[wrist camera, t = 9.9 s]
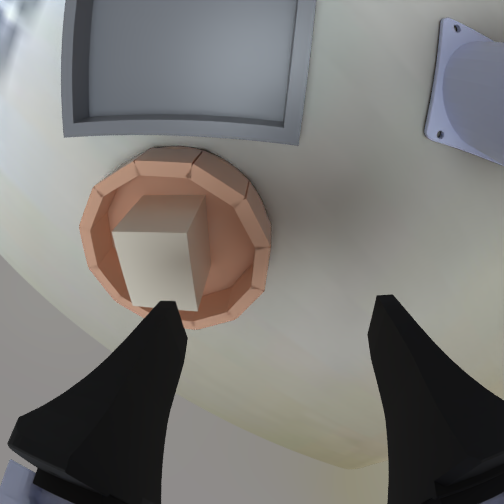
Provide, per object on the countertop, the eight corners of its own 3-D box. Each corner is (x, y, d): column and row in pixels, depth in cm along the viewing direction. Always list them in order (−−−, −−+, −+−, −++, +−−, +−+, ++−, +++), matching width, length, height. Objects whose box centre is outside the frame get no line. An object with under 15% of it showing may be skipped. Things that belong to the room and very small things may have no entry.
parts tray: (316, -56, 10) (322, -71, 8) (295, 135, 16) (298, 145, 14) (94, -42, 10) (74, -51, 8) (84, 127, 16) (63, 137, 14)
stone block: (205, 194, 18) (186, 232, 14) (211, 264, 21) (197, 311, 17) (143, 195, 18) (111, 231, 14) (155, 261, 21) (132, 305, 17)
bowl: (280, 154, 17) (281, 171, 14) (259, 306, 23) (257, 337, 21) (94, 145, 17) (68, 160, 14) (116, 287, 23) (101, 313, 21)
